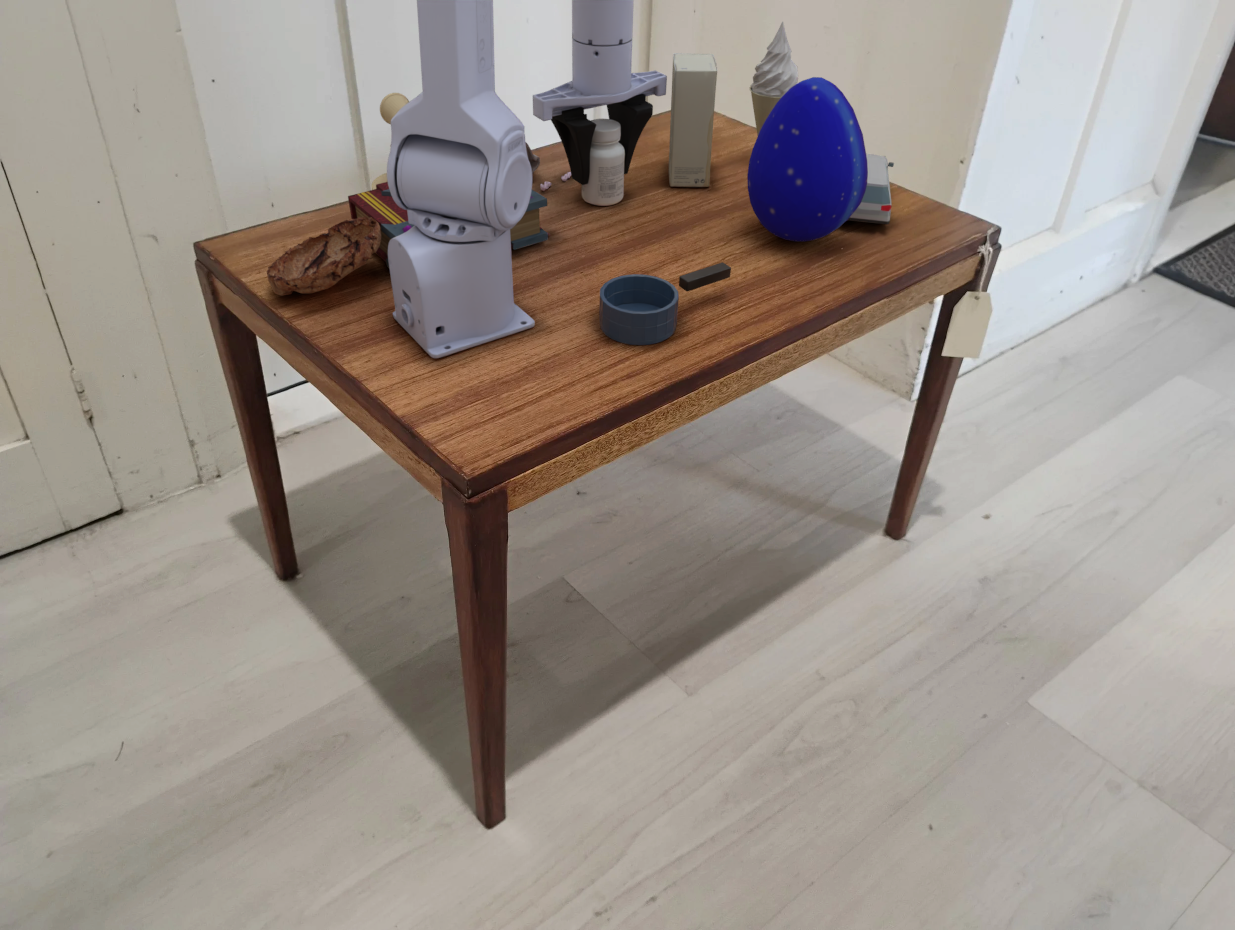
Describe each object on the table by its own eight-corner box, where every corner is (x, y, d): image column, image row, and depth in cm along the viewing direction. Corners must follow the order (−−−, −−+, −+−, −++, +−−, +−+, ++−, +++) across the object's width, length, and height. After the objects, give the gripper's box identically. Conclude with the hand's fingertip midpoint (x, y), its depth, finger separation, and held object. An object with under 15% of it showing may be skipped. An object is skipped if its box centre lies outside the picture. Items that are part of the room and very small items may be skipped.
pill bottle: (631, 195, 101) (633, 122, 96) (608, 210, 98) (610, 135, 93) (596, 185, 103) (596, 113, 98) (573, 200, 100) (572, 126, 95)
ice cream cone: (784, 172, 107) (804, 30, 97) (739, 168, 107) (754, 25, 98) (787, 155, 111) (807, 16, 101) (743, 151, 111) (759, 12, 102)
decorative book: (351, 238, 92) (343, 188, 89) (497, 198, 99) (494, 151, 96) (406, 287, 85) (399, 234, 82) (558, 240, 92) (557, 190, 89)
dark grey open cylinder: (628, 353, 78) (629, 321, 76) (584, 318, 82) (584, 286, 80) (691, 330, 81) (694, 299, 79) (646, 297, 85) (647, 267, 83)
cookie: (373, 204, 87) (389, 234, 89) (266, 254, 87) (284, 283, 88) (376, 233, 79) (394, 265, 80) (258, 288, 78) (278, 319, 80)
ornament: (867, 240, 94) (900, 83, 84) (810, 270, 89) (838, 107, 79) (779, 203, 100) (800, 53, 90) (721, 229, 95) (736, 73, 85)
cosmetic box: (709, 189, 103) (719, 71, 95) (667, 187, 103) (674, 70, 95) (705, 165, 108) (715, 52, 100) (666, 164, 108) (672, 51, 100)
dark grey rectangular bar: (686, 292, 82) (687, 281, 81) (678, 286, 82) (679, 275, 82) (730, 277, 84) (731, 267, 83) (721, 272, 85) (722, 261, 84)
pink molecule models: (506, 212, 97) (506, 207, 97) (492, 203, 98) (492, 198, 98) (601, 168, 107) (602, 163, 106) (588, 161, 107) (588, 156, 107)
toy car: (884, 179, 105) (894, 135, 102) (889, 236, 96) (901, 189, 92) (831, 174, 106) (839, 130, 102) (831, 230, 96) (840, 183, 93)
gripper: (640, 16, 97) (635, 148, 105) (514, 37, 90) (520, 177, 99) (682, 34, 92) (674, 171, 101) (553, 58, 86) (556, 202, 94)
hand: (600, 175), depth 99 cm, fingers closed on pill bottle, 4 cm apart
